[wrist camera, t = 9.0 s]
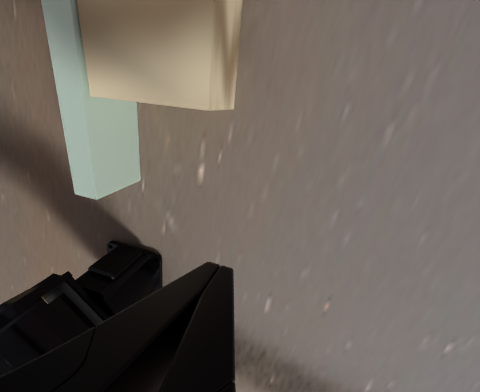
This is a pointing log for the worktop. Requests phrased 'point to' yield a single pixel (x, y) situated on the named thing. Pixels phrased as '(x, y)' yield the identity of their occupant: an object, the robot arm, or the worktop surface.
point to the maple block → (162, 51)
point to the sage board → (89, 112)
